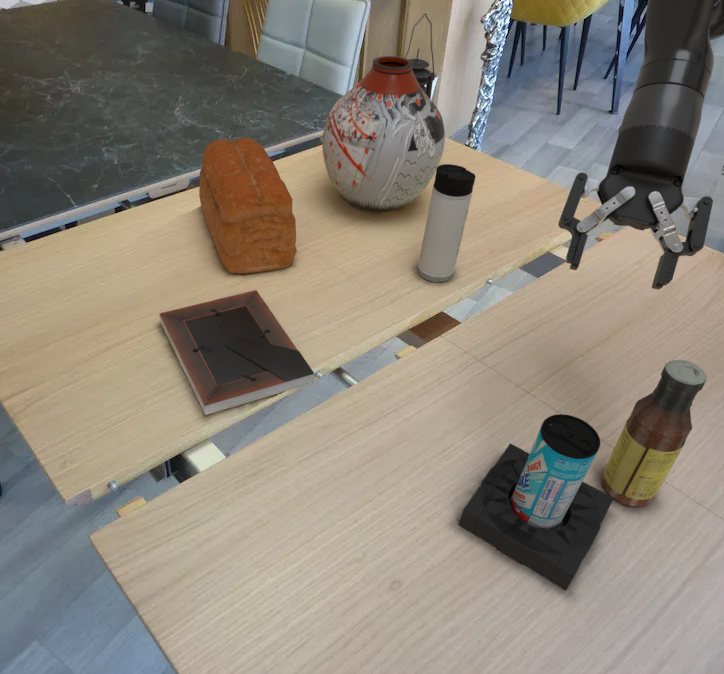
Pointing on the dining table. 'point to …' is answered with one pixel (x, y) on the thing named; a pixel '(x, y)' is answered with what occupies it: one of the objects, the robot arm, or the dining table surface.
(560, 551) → the pad
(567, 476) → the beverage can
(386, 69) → the vase
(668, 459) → the sauce bottle
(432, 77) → the lantern
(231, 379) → the picture frame
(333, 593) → the dining table surface
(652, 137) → the robot arm
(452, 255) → the travel mug
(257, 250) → the bread
